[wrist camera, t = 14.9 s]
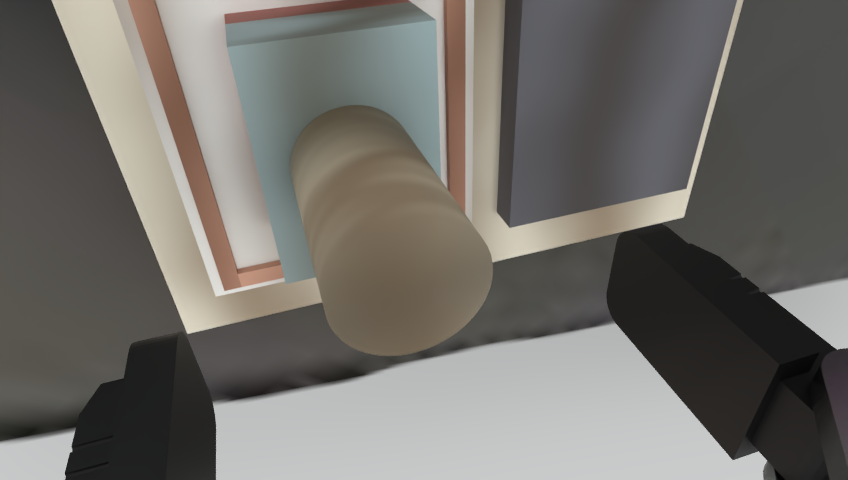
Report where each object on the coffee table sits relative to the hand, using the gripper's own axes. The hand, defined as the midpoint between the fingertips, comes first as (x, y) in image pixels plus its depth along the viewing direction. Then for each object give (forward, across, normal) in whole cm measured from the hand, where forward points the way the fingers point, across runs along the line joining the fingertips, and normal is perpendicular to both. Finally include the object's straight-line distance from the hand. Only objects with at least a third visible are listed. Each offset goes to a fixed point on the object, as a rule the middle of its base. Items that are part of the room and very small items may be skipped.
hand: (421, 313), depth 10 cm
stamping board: (+11, -4, 0) cm, 12 cm away
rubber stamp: (+10, 0, 0) cm, 10 cm away
